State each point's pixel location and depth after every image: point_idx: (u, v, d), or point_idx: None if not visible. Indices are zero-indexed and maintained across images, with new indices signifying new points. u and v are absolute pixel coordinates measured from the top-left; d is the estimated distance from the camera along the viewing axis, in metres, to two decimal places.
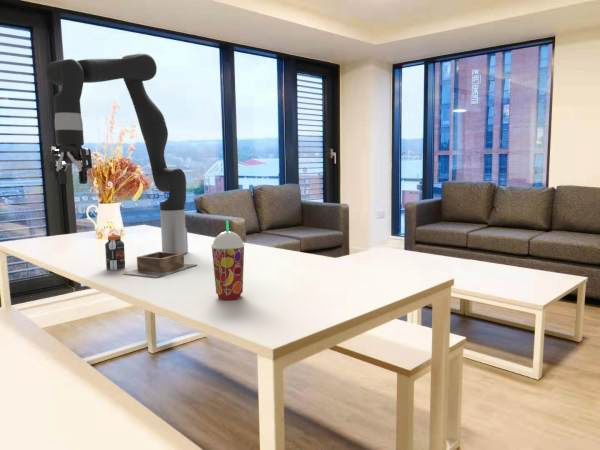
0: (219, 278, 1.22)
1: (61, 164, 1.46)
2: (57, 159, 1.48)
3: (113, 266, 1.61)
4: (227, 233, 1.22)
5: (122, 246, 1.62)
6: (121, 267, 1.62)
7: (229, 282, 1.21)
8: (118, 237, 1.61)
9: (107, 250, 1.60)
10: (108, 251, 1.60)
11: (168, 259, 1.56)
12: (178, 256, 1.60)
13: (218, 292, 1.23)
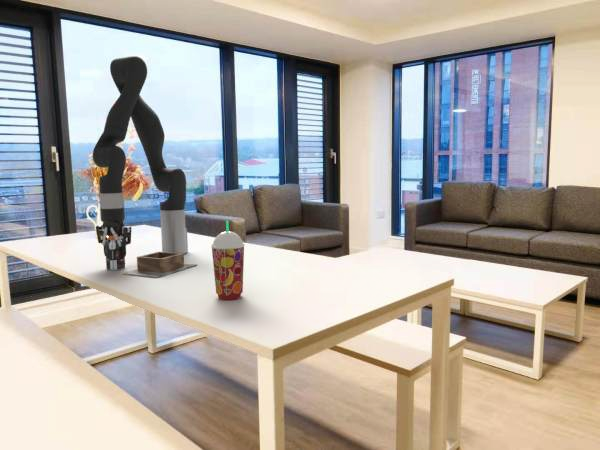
0: (219, 278, 1.22)
1: (106, 238, 1.62)
2: (101, 233, 1.64)
3: (113, 266, 1.61)
4: (227, 233, 1.22)
5: None
6: (121, 267, 1.62)
7: (229, 282, 1.21)
8: None
9: (107, 250, 1.60)
10: (108, 251, 1.60)
11: (168, 259, 1.56)
12: (178, 256, 1.60)
13: (218, 292, 1.23)
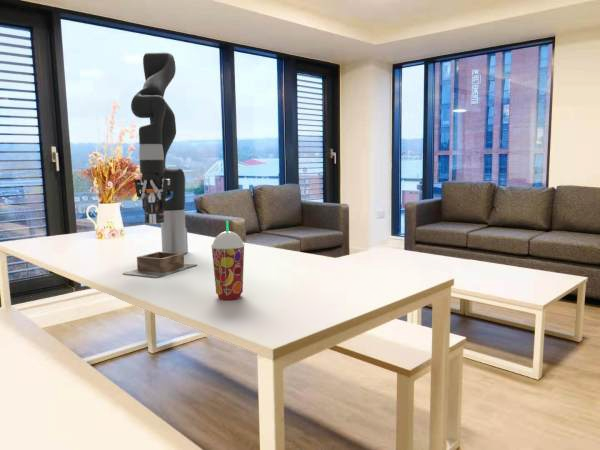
0: (219, 278, 1.22)
1: (145, 192, 1.57)
2: (140, 187, 1.59)
3: (153, 220, 1.55)
4: (227, 233, 1.22)
5: None
6: (160, 221, 1.57)
7: (229, 282, 1.21)
8: None
9: (146, 203, 1.55)
10: (147, 204, 1.55)
11: (168, 259, 1.56)
12: (178, 256, 1.60)
13: (218, 292, 1.23)
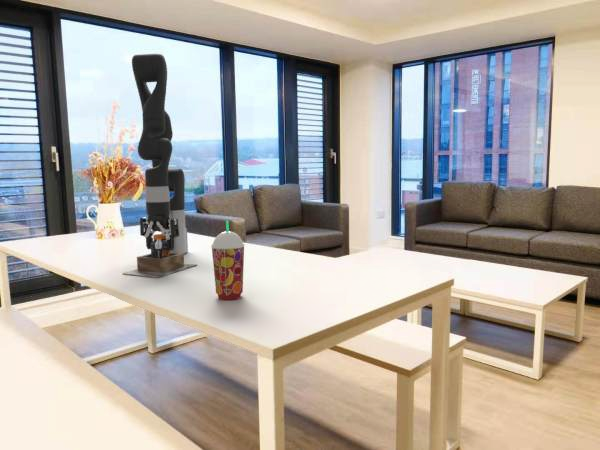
0: (219, 278, 1.22)
1: (149, 232, 1.59)
2: (145, 226, 1.61)
3: None
4: (227, 233, 1.22)
5: None
6: None
7: (229, 282, 1.21)
8: (164, 236, 1.58)
9: (153, 249, 1.57)
10: (154, 250, 1.57)
11: (168, 259, 1.56)
12: (178, 256, 1.60)
13: (218, 292, 1.23)
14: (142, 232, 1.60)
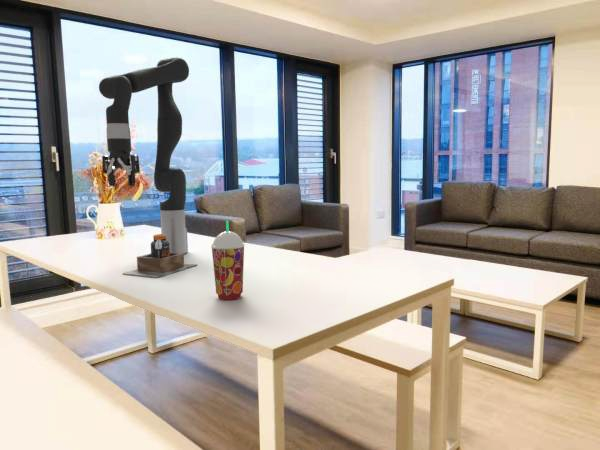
0: (219, 278, 1.22)
1: (111, 169, 1.64)
2: (107, 164, 1.66)
3: None
4: (227, 233, 1.22)
5: (168, 246, 1.59)
6: None
7: (229, 282, 1.21)
8: (164, 236, 1.58)
9: (153, 250, 1.57)
10: (154, 250, 1.57)
11: (168, 259, 1.56)
12: (178, 256, 1.60)
13: (218, 292, 1.23)
14: (104, 169, 1.66)
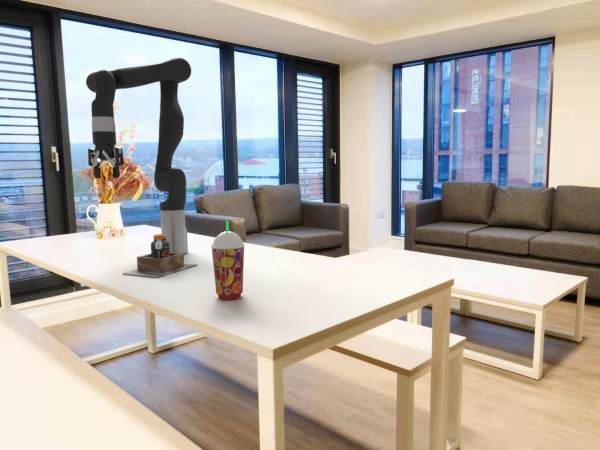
0: (219, 278, 1.22)
1: (96, 161, 1.68)
2: (93, 157, 1.70)
3: None
4: (227, 233, 1.22)
5: (168, 246, 1.59)
6: None
7: (229, 282, 1.21)
8: (164, 236, 1.58)
9: (153, 250, 1.57)
10: (154, 250, 1.57)
11: (168, 259, 1.56)
12: (178, 256, 1.60)
13: (218, 292, 1.23)
14: (90, 162, 1.70)
